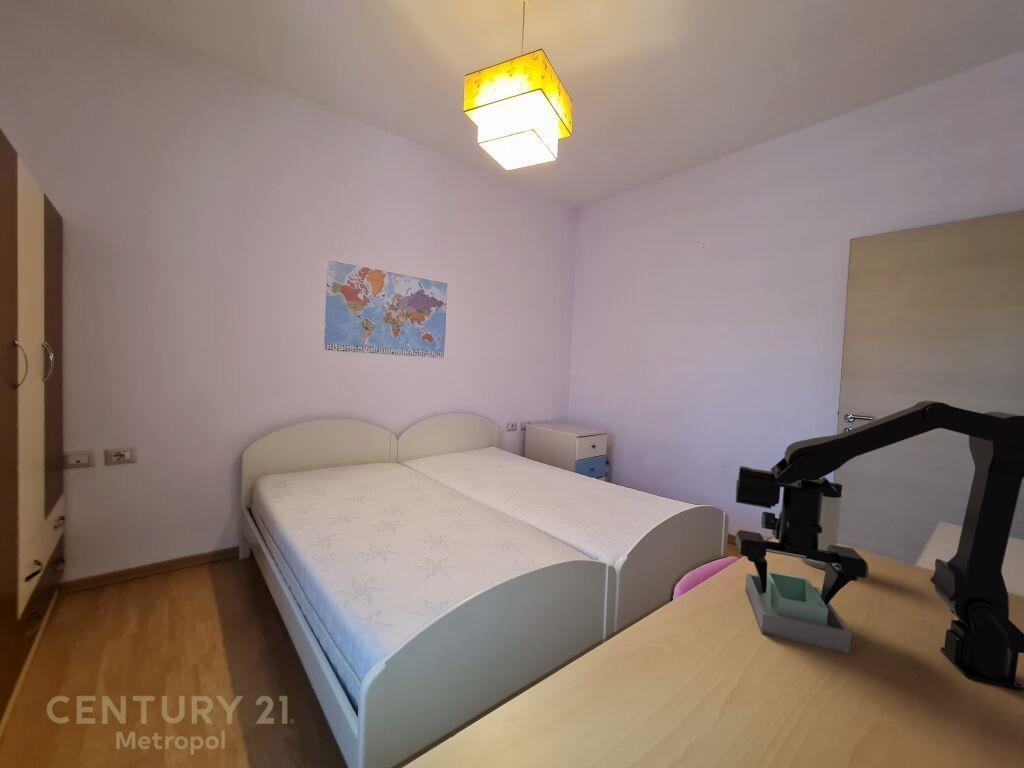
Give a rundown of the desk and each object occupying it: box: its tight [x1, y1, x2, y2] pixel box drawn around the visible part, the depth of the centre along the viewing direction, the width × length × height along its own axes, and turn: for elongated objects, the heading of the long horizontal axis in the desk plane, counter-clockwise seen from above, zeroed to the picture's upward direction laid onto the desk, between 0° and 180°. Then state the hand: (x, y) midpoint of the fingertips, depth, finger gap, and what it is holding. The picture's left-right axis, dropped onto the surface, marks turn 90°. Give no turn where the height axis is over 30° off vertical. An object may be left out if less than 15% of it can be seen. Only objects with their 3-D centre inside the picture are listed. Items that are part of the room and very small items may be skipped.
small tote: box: [763, 570, 828, 626], centre depth 74 cm, size 10×7×5 cm
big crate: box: [744, 573, 852, 655], centre depth 74 cm, size 12×14×3 cm
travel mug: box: [801, 478, 843, 570], centre depth 94 cm, size 6×7×20 cm
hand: (792, 598), depth 74 cm, fingers open, 9 cm apart
